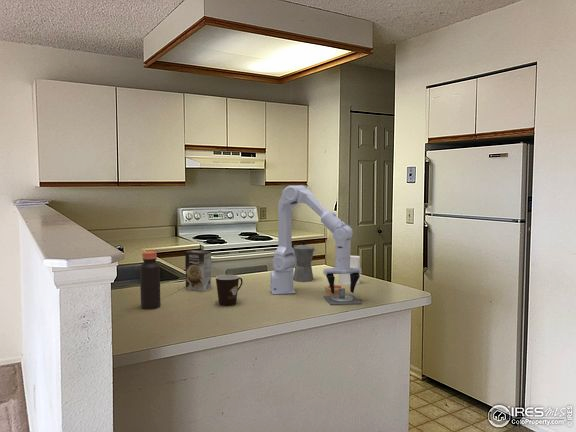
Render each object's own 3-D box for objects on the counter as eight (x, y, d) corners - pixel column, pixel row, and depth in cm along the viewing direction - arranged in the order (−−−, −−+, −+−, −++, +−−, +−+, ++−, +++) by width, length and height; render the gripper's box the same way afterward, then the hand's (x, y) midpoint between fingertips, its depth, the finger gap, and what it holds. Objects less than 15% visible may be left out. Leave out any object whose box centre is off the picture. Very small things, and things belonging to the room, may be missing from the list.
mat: (330, 305, 168) (330, 304, 168) (323, 296, 180) (323, 295, 180) (362, 304, 170) (362, 303, 170) (352, 295, 182) (352, 294, 182)
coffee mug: (220, 308, 164) (220, 280, 164) (212, 302, 172) (212, 276, 171) (250, 304, 170) (250, 277, 169) (241, 298, 177) (241, 273, 176)
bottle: (138, 306, 166) (136, 251, 164) (156, 303, 170) (155, 250, 169) (144, 310, 161) (143, 254, 159) (163, 307, 165) (162, 252, 163)
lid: (334, 302, 170) (334, 291, 170) (328, 296, 179) (328, 286, 178) (355, 301, 172) (356, 291, 171) (349, 296, 180) (349, 285, 180)
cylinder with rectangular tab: (336, 283, 202) (337, 257, 201) (342, 279, 210) (342, 253, 209) (356, 285, 199) (357, 258, 198) (361, 281, 207) (362, 255, 206)
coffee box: (184, 289, 190) (184, 251, 189) (193, 286, 196) (193, 249, 195) (203, 292, 187) (203, 253, 186) (212, 288, 193) (211, 250, 191)
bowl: (328, 295, 182) (328, 289, 182) (323, 291, 189) (323, 285, 189) (346, 295, 183) (346, 288, 183) (341, 290, 190) (341, 284, 190)
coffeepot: (321, 280, 208) (321, 241, 206) (306, 283, 202) (307, 243, 200) (296, 275, 219) (297, 237, 217) (282, 278, 213) (282, 239, 211)
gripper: (326, 259, 169) (326, 295, 170) (364, 258, 171) (363, 294, 172) (322, 256, 176) (321, 291, 177) (358, 255, 178) (358, 289, 179)
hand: (342, 292), depth 175 cm, fingers open, 7 cm apart
